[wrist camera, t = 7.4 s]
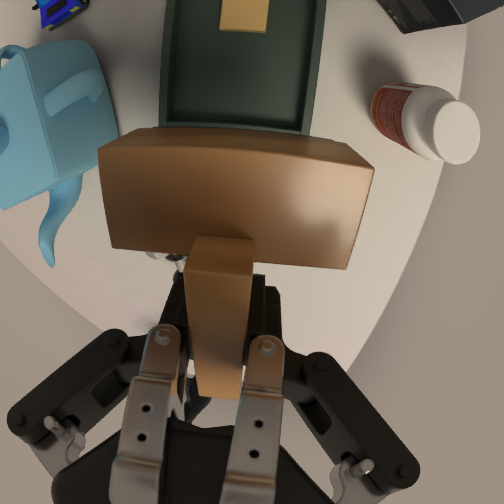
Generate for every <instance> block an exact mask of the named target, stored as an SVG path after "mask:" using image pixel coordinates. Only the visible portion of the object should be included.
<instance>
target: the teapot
mask: <svg viewBox="0 0 504 504" xmlns="http://www.w3.org/2000/svg"><path fill="white" fill-rule="evenodd" d="M2 58H5V59H10V60H9V61H8V62H7V63H6V64H5V65H4V66H3V67H2V68H1V65H0V208H1V209H2V210H6V209H8V208H11V207H13V206H15V205H17V204H19V203H21V202H23V201H25V200H28V199H30V198H32V197H34V196H36V195H39V194H41V193H43V192H45V191H47V190H49V195H50V204H49V209H48V211H47V213H46V215H45V217H44V219H43V221H42V223H41V226H40V229H39V237H38V240H39V246H40V250H41V253H42V255H43V257H44V259H45V261H46V262H47V264H48V265H49V266H50V267H54V265H55V258H54V239H55V236H56V233H57V230H58V229H59V227H60V225H61V223H62V222H63V221H64V219H65V218H66V217H67V215H68V214H69V213H70V211H71V210H72V208H73V207H74V206H75V204H76V202H77V200H78V198H79V195H80V193H81V187H82V174H83V172H85V171H87V170H89V169H91V168H93V167H95V166H97V165H98V156H97V149H98V148H99V147H101V146H103V145H105V144H107V143H109V142H111V141H113V140H115V139H117V138H119V135H118V130H117V125H116V121H115V116H114V112H113V108H112V103H111V99H110V95H109V91H108V88H107V85H106V82H105V79H104V76H103V73H102V70H101V67H100V64H99V62H98V59H97V56H96V54H95V51H94V50H93V48H92V47H91V46H90V45H89V44H87V43H86V42H84V41H80V40H63V41H55V42H49V43H45V44H41V45H38V46H34V47H31V48H28V49H25V48H22V47H20V46H17V45H7V46H5V47H3V48H1V49H0V64H1V59H2Z"/></svg>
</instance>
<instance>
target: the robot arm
mask: <svg viewBox="0 0 504 504" xmlns="http://www.w3.org/2000/svg"><path fill="white" fill-rule="evenodd" d="M280 303H281V302H280V294H279V292H278V290H277V289H276V287H274V286H265V275H262V274H253V278H252V287H251V296H250V306H249V315H248V324H247V333H246V343H245V352H244V361H243V365H244V366H246V370H245V376H244V381H243V387H242V391H241V395H240V401H239V406H238V411H237V417H236V422H235V426H232V425H229V426H221V427H212V428H200V427H197V426H195V425H192V424H190V423H187V422H185V421H184V400H185V390H186V380H187V367H188V363H189V359H191V360H193V354H192V347H191V340H190V332H189V324H188V315H187V307H186V297H185V287H184V278H181V277H180V278H179V279H178V280H177V281H176V282H175V283H174V284H173V286H172V288H171V291H170V294H169V296H168V300H167V301H166V304H165V307H164V310H163V312H162V315H161V318H160V321H159V323H158V325H157V326H155V327H153V328H152V329H151V330H150V331H149V332H148V334H146V335H142V336H133V337H128V336H127V334H126V333H125V332H124V331H122V330H120V329H109V330H107V331H105V332H103V333H102V334H101V335H99V336H98V337H97V338H96V339H94V340H93V341H92V342H91V343H89V344H88V345H87V346H85V347H84V348H83V349H82V350H80V351H79V352H78V353H77V354H75V356H73V357H72V358H71V359H69V360H68V361H67V362H66V363H64V364H63V365H62V366H61V367H59V368H58V369H57V370H56V371H55V372H53V373H52V374H51V375H50V376H49V377H47V378H46V379H45V380H44V381H42V382H41V383H40V384H39V385H38V386H36V387H35V388H34V389H33V390H32V391H31V392H29V393H28V394H27V395H26V396H24V397H23V398H22V399H21V400H20V401H19V402H17V403H16V404H15V405H14V406H13V407H12V408H11V409H10V410H9V412H8V415H7V424H8V427H9V429H10V430H11V432H12V433H14V434H15V435H16V436H18V437H19V438H21V439H22V440H23V441H24V442H25V443H27V444H28V445H29V446H30V447H31V448H32V450H33V452H34V453H35V455H36V456H37V457H38V459H39V460H40V462H41V463H42V464H43V466H44V467H45V468H46V470H47V471H48V472H49V474H50V475H51V476H52V477H53V482H52V486H51V494H52V499H53V503H54V504H378V503H379V502H380V501H381V500H383V499H384V498H385V497H386V496H388V495H389V494H391V493H394V492H397V491H400V490H403V489H406V488H408V487H411V486H412V485H413V484H414V483H415V482H416V481H417V480H418V478H419V475H420V465H419V463H418V461H417V459H416V458H415V457H414V456H413V455H412V453H411V452H410V451H409V450H408V448H407V447H406V446H405V445H404V444H403V442H402V441H401V440H400V439H399V438H398V436H397V435H396V434H395V433H394V431H393V430H392V429H391V428H390V427H389V425H388V424H387V423H386V422H385V420H384V419H383V418H382V417H381V416H380V414H379V413H378V412H377V411H376V409H375V408H374V407H373V406H372V404H371V403H370V402H369V401H368V399H367V398H366V397H365V396H364V395H363V393H362V392H361V391H360V390H359V388H358V387H357V386H356V385H355V384H354V382H353V381H352V380H351V379H350V378H349V376H348V375H347V374H346V372H345V371H344V370H343V369H342V368H341V366H340V365H339V364H338V363H337V361H336V360H335V359H334V358H333V357H332V356H331V355H329V354H327V353H324V352H313V353H311V354H309V355H308V356H305V355H302V354H299V353H296V352H293V351H292V350H290V349H289V348H288V347H287V346H286V345H285V344H284V342H283V339H282V325H281V305H280ZM127 395H128V397H127V402H126V407H125V412H124V417H123V422H122V428H121V429H120V430H119V431H117V432H116V433H115V434H113V435H112V436H110V437H109V438H108V439H106V440H105V441H103V442H102V443H101V444H99V445H98V446H96V447H95V448H93V449H92V450H90V451H89V452H87V453H86V454H85V455H83V456H82V457H80V458H79V459H78V457H79V454H80V452H81V451H82V450H83V449H84V448H85V442H86V441H85V434H86V433H87V432H88V431H89V430H90V429H91V428H93V427H94V426H95V425H96V424H97V423H98V422H99V421H100V420H101V419H102V418H104V417H105V416H106V415H107V414H108V413H109V412H110V411H111V410H112V409H113V408H114V407H115V406H116V405H117V404H119V403H120V402H121V401H122V400H123V399H124V398H125V397H126V396H127ZM284 398H285V399H288V400H291V403H292V404H293V406H294V407H295V408H296V410H297V412H298V413H299V415H300V416H301V418H302V419H303V421H304V422H305V423H306V425H307V426H308V428H309V429H310V431H311V432H312V434H313V435H314V436H315V438H316V439H317V441H318V442H319V443H320V445H321V446H322V448H323V449H324V451H325V452H326V453H327V455H328V456H329V458H330V459H331V460H332V462H333V463H334V464H335V466H334V467H333V469H332V470H331V472H330V482H331V484H332V486H333V489H334V495H333V498H332V500H331V499H330V498H329V497H328V496H327V495H326V494H325V493H324V492H323V491H322V490H321V489H320V487H319V486H318V485H317V484H316V483H315V482H314V481H313V480H312V479H311V478H310V477H309V476H308V475H307V474H306V473H305V471H304V470H303V469H302V468H301V467H300V466H299V465H298V463H296V461H295V460H294V459H293V458H292V457H291V455H290V454H289V453H288V452H287V451H286V450H285V449H284V447H282V446H281V445H280V435H281V424H282V413H283V401H284Z"/></svg>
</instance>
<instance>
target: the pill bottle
mask: <svg viewBox="0 0 504 504" xmlns="http://www.w3.org/2000/svg"><path fill="white" fill-rule="evenodd" d="M370 113H371V118H372V121H373V123H374V125H375V127H376V128H377V129H378V131H379V132H380V133H382V134H383V135H384V136H386V137H387V138H389V139H391V140H393V141H395V142H397V143H398V144H400V145H402V146H404V147H405V148H407V149H409V150H411V151H412V152H414V153H416V154H418V155H419V156H421V157H423V158H425V159H427V160H431V161H443V160H444V161H446V162H448V163H451V164H456V165H458V164H463V163H465V162H467V161H469V160H470V159H471V158H472V157H473V156H474V154H475V152H476V151H477V148H478V146H479V142H480V126H479V122H478V119H477V117H476V115H475V113H474V112H473V110H472V109H471V108H470V107H469V106H468V105H466V104H465V103H463V102H460V101H458V100H456V99H455V98H454V97H453V96H452V95H451V94H450V93H449V92H447V91H446V90H444V89H442V88H439V87H434V86H428V85H420V84H410V83H388V84H385V85H383V86H381V87H380V88H379V89H378V90H377V91H376V92H375V94H374V96H373V98H372V100H371V105H370Z"/></svg>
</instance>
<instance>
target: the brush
mask: <svg viewBox="0 0 504 504" xmlns="http://www.w3.org/2000/svg"><path fill="white" fill-rule="evenodd" d="M97 156H98V166H99V174H100V182H101V189H102V196H103V202H104V208H105V214H106V220H107V225H108V230H109V235H110V240H111V245H112V248H115V249H125V250H135V251H145V252H155V253H165V254H175V255H186V256H188V259H187V261H186V264H185V266H184V269H183V276H184V287H185V297H186V307H187V315H188V324H189V332H190V340H191V347H192V354H193V361H194V368H195V374H196V381H197V387H198V393H199V395H200V396H205V397H214V398H222V399H232V400H238V399H239V396H240V388H241V379H242V370H243V361H244V352H245V343H246V333H247V324H248V315H249V306H250V296H251V287H252V278H253V262H261V263H272V264H284V265H295V266H307V267H319V268H331V269H343V270H345V269H346V268H347V265H348V262H349V259H350V256H351V253H352V249H353V246H354V243H355V240H356V237H357V233H358V230H359V227H360V223H361V220H362V216H363V213H364V209H365V205H366V202H367V198H368V194H369V190H370V186H371V183H372V178H373V174H374V167H373V166H372V165H370V164H369V163H368V162H367V161H366V160H365V159H364V158H363V157H361V156H360V155H359V154H358V153H357V152H356V151H354V150H353V149H352V148H351V147H350V146H348V145H347V144H346V143H341V142H336V141H334V140H331V139H325V138H319V137H313V136H306V135H299V134H291V133H283V132H274V131H264V130H253V129H240V128H223V127H195V126H163V127H153V128H138V129H136V130H134V131H131V132H129V133H127V134H125V135H123V136H121V137H119V138H117V139H115V140H113V141H111V142H109V143H107V144H105V145H103V146H101V147H99V148H98V149H97Z"/></svg>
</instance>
